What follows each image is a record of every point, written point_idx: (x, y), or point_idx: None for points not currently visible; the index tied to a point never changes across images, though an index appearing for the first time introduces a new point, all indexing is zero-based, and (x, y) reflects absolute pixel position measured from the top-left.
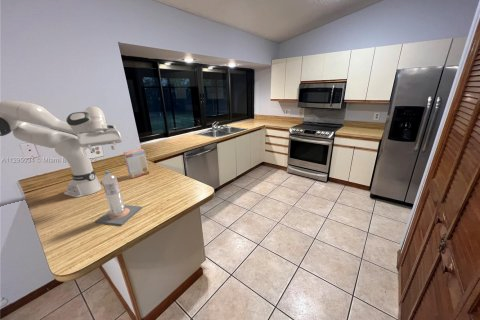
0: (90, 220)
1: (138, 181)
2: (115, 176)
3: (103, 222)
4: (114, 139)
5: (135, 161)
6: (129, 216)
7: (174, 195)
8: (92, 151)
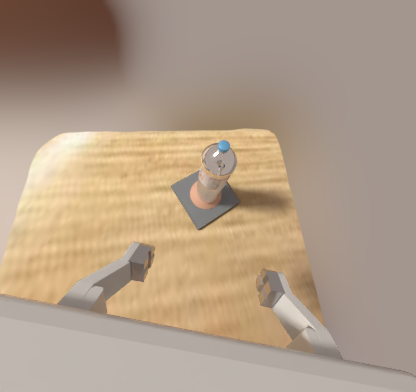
0: (244, 216)
1: None
2: (204, 152)
3: (230, 189)
4: (36, 314)
5: None
6: (197, 172)
7: (104, 181)
8: (274, 272)
